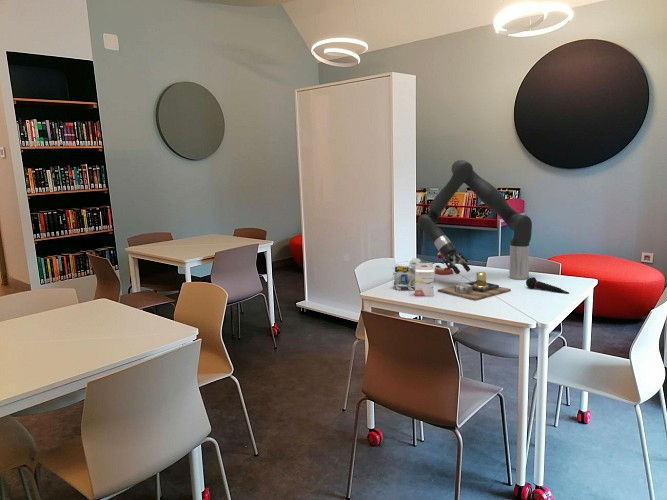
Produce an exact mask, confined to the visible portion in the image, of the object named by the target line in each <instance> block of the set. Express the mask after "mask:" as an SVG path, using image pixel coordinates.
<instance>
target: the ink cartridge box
mask: <svg viewBox="0 0 667 500" xmlns="http://www.w3.org/2000/svg"><path fill="white" fill-rule="evenodd" d="M423 265H425V266H427V267H421V266H423ZM433 267H434V263H433V262H431V263H430V262H429V263H428V262H426V263H416V269H415V286H414V295H415V296H416V297H434V296H435V294H434V293H435V270H434V268H433Z"/></svg>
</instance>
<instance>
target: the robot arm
mask: <svg viewBox="0 0 667 500" xmlns="http://www.w3.org/2000/svg"><path fill="white" fill-rule="evenodd" d="M451 172H452V173H451V174H452V175H451V177H450V179H449V180H448V182H447V183H446V185H445V186H444V187H443V188H442V189H441V190H440V191H438V193H437V194H436V196H435V197H434V198H433V200H432V201H431V203H430V204H429V206H428V209H429V211H428V212H427V214H421V215H420V216H419V217H418V219H417V224H418V226H419V227H420V228H421V230H422V231H423V232H424V233H425V235H427V236H428V237H429V239H430V240H431V241H432V243H433V244H434V246H435V248H436V249H437V250H438V253H439V252H440V253H441V255H442V256H443V257H444V258H442V259H441V260H442V261H443V263H444V264H445V265H446V268H447V267H448V268H451V269H452V270H453V273H455V274H456V275H459V274H460V273H461V270H460V269H459V268H458V266H457V265H456V264H458V265H461V266H462V267H463V268H464V271H466V272H467V273H468V272H470V271H471V268H470V266H469V265H468V264H467V263H468V262H469V260H468V259H467V257H465V255H464V254H463V253H462V252H459V253H458V252H457V247H456V246H455V245H454V244H453V243H452V242H451V240H450V239H449V237H448V236H446V234H445V232H443V230H442V229H441V228H440V227H438V226H437V223H438V222H439V218H440V217H441V214H442V212H443V211H444V209H446V207H447V205H448V203H449V202H450V201H451V200H452V198H453V197H454V195H455V194H456V193H457V192H458V190H459V189H461V186H462V185H463V184H465V185H466V186H467V187H469V189H470V190H471V191H472V192H473V194H474V195H475V196H477V197H478V198H477V199H479V200H480V201H481V202H482V203H483V204H484V205H485V206H486V207H488V209H490V210H491V211H492V212H494V214H496V215H497V216H498V217H500V218H501V220H502V221H503V222H504V223H505V225H507V227H508V228H509V229H510V230H512V231H513V237H512V238H511V239H510V241H509V242H510V243H509V271H508V273H509V274H508V277H509V279H512V280H527V279H528V278H530V259H529V258H530V242H531V240H532V231H533V229H532V228H533V224H532V223H533V222H532V219H531V218H530V217H529V216H528V215H525V214H521V213H518V212H517V211H516V210H515V209H513V208H512V207H511V206H510V205H509V203H508V202H507V200H506V198H505V197H504V195H503V194H502V193H501V192H500V191H499V190H498V188H496V187H495V186H493V185H492V184H491V183H489V182H488V181H487V180H485V179H484V178H482V177H481V176H480V175H479V174H478V173H476V172H475V171H474V168H473V164H472V163H470V162H469V161H467V160H463V159H459V160H456V161H454V162H453V164H452V165H451Z"/></svg>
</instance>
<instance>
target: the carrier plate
mask: <svg viewBox="0 0 667 500" xmlns="http://www.w3.org/2000/svg"><path fill="white" fill-rule="evenodd" d="M474 284H476V280H475V281H473V280H472V281H468V282H465V283H457V284H455V285H451V286H447V287H443V288H439V289H437V292H438V293H440V294H441V293H442V294H445V295H450V296H453V297H454V296H455V297H458V298H463V299H466V300H471V301H475V302H476V301H479V300H482V299H483V300H484V299H486V298H491V297H494V296H497V295H501V294H505V293H509V292H511V290H512V289H511V288H508V287H502V286H500V285H499V284H494V283H490V282H486V284H487V285H490V287H487V288H483V289H480V288H476V287H473V285H474Z"/></svg>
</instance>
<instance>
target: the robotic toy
mask: <svg viewBox="0 0 667 500" xmlns="http://www.w3.org/2000/svg"><path fill="white" fill-rule="evenodd" d="M405 262H406V263H408V262H409V264H408V265H403V264H401V263H397V265H395V267H392V269H393V270H394V272H393V273H392V275H393V276H392V278H391V279H393V280H394V281H393V285H394V287H395V289H396V291H402V288H401V287H403V286H407V288H408V290H409V291H410V292H413V291H414V288H412V287H413V286H414V287H415V269H416V263H427V260H423V259H421V258H418V257H415V258H412V259H411V260H410V261H406V260H405V261H404V260H403V263H405ZM421 267H427V266H425V265H423V266H421ZM399 286H400V287H399Z"/></svg>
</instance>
